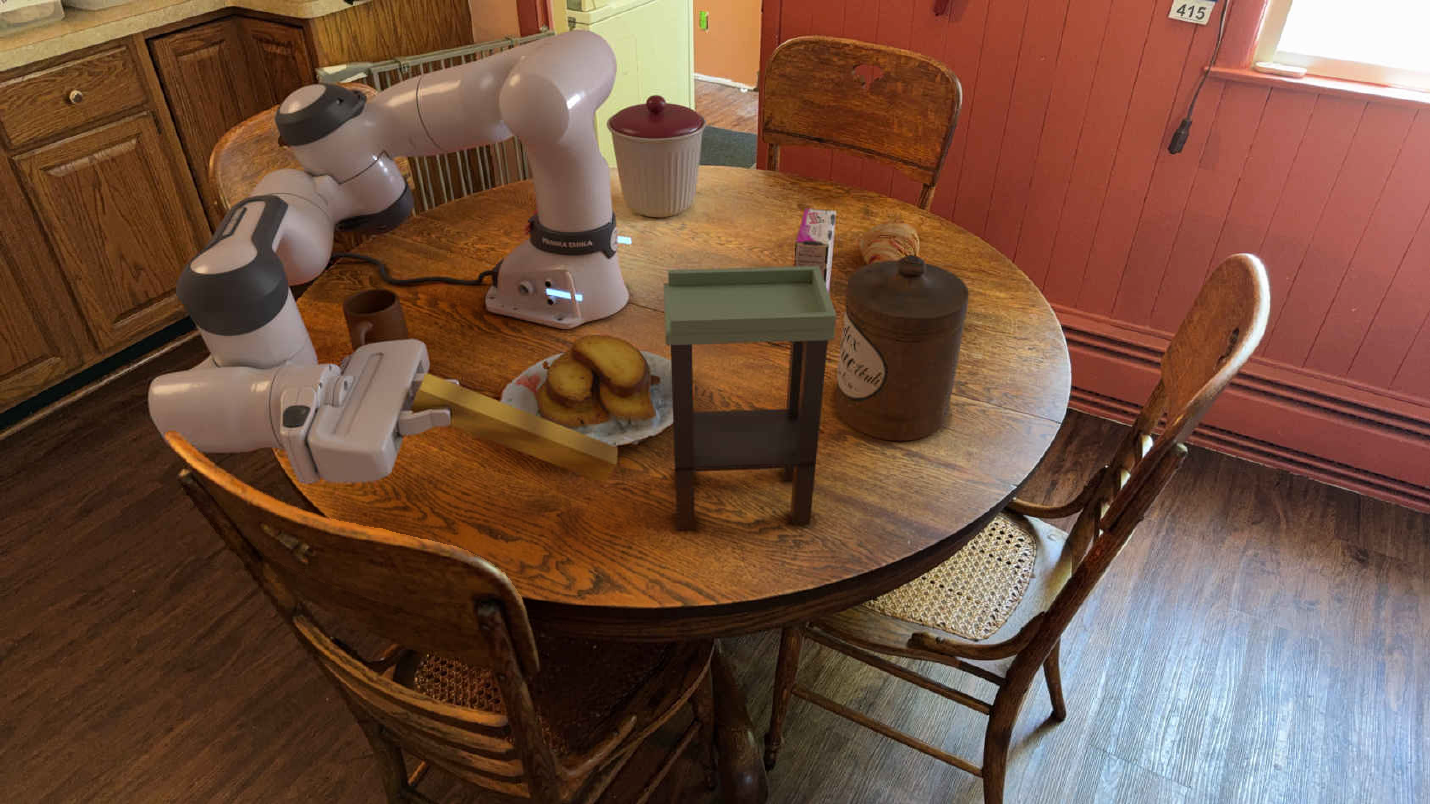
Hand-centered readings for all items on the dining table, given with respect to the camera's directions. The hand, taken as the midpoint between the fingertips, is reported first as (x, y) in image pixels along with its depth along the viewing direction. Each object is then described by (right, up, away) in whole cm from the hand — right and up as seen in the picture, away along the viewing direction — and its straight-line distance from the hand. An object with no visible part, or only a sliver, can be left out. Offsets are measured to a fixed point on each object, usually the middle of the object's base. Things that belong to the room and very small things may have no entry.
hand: (454, 402), depth 89 cm
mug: (-20, +5, +32) cm, 38 cm away
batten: (+5, -4, +3) cm, 7 cm away
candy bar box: (+42, +12, +42) cm, 60 cm away
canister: (+16, +38, +76) cm, 87 cm away
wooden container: (+50, -1, +25) cm, 56 cm away
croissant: (+57, +24, +59) cm, 85 cm away
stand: (+30, -11, +11) cm, 34 cm away
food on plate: (+12, -1, +25) cm, 27 cm away
